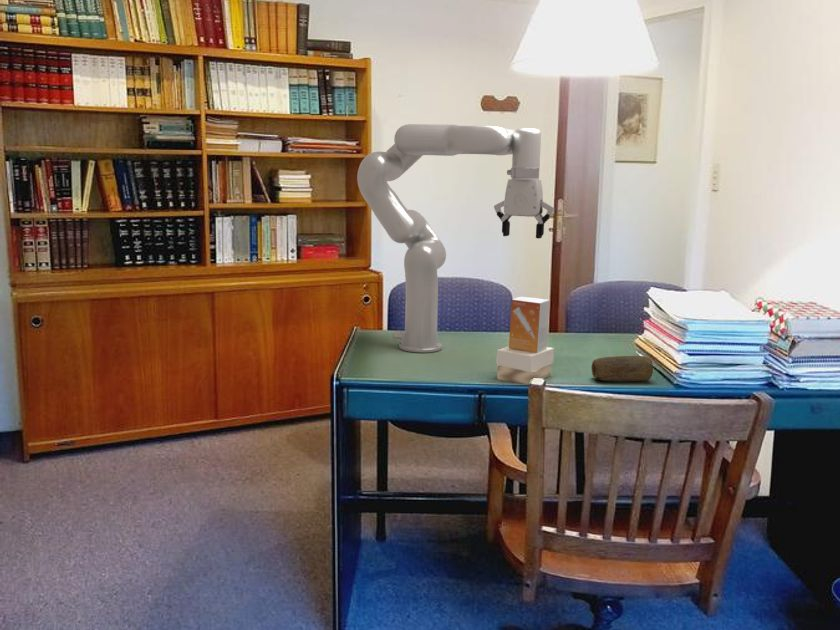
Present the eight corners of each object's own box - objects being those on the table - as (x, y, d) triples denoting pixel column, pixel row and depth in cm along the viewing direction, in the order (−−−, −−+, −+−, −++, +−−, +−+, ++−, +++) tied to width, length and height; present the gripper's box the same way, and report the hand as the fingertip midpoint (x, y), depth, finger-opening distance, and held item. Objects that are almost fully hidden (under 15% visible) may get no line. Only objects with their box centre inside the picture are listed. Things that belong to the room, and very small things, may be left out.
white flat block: (496, 365, 198) (497, 349, 198) (519, 356, 208) (520, 342, 207) (530, 372, 192) (531, 356, 192) (553, 363, 202) (554, 348, 201)
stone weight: (642, 377, 204) (644, 352, 203) (654, 384, 197) (656, 358, 196) (588, 377, 202) (589, 352, 200) (597, 385, 195) (599, 359, 194)
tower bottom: (497, 381, 198) (497, 366, 197) (515, 371, 208) (515, 356, 208) (533, 387, 193) (534, 372, 192) (550, 376, 203) (551, 362, 203)
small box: (508, 349, 199) (510, 299, 196) (518, 344, 204) (521, 295, 202) (537, 353, 195) (540, 302, 192) (547, 348, 200) (550, 299, 197)
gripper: (490, 173, 213) (488, 236, 216) (551, 175, 205) (547, 240, 208) (501, 173, 219) (498, 234, 223) (560, 175, 212) (556, 238, 215)
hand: (522, 237), depth 215 cm, fingers open, 9 cm apart
